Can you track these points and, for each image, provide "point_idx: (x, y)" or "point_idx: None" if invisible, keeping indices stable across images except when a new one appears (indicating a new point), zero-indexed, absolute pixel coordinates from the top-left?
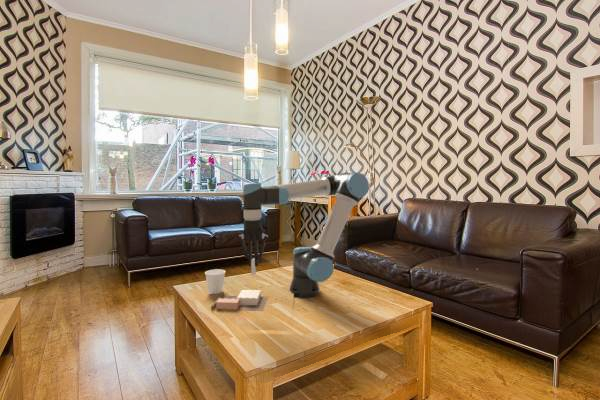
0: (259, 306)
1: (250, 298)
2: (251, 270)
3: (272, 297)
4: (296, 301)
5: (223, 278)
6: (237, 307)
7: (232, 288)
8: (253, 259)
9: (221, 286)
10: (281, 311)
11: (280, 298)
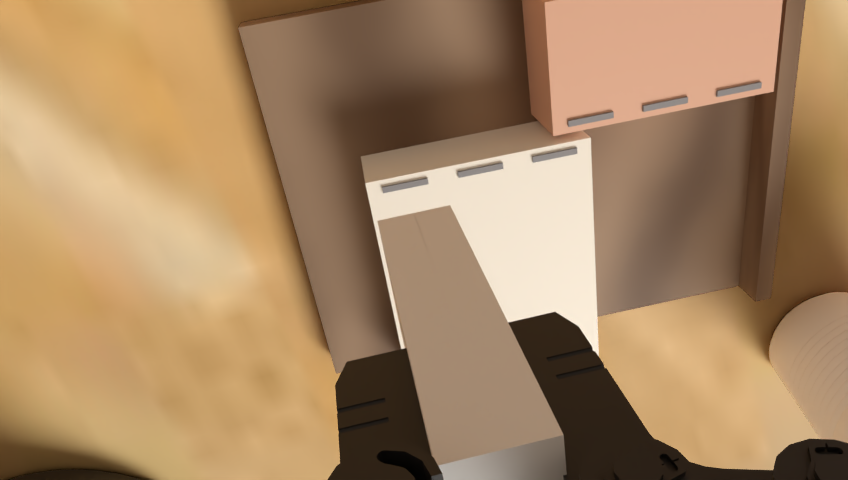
0: (323, 133)
1: (438, 168)
2: (466, 247)
3: (313, 399)
4: (55, 382)
5: (845, 440)
6: (527, 2)
7: (702, 462)
8: (484, 474)
9: (810, 374)
10: (77, 128)
11: (233, 400)
